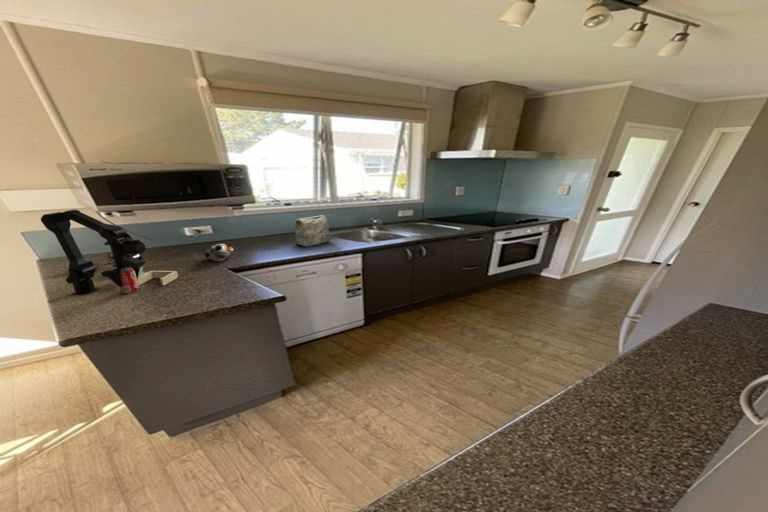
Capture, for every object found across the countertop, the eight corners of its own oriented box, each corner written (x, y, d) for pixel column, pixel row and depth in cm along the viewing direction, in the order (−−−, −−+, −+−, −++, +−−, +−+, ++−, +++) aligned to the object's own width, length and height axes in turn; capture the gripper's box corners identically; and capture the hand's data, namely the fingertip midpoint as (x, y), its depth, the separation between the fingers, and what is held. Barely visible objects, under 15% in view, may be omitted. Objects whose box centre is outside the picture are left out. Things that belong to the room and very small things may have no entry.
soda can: (138, 286, 149) (131, 265, 145) (141, 290, 144) (135, 268, 140) (120, 291, 143) (113, 269, 139) (123, 295, 139) (116, 272, 135)
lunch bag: (321, 238, 248) (320, 213, 241) (332, 242, 236) (331, 216, 229) (293, 243, 231) (290, 216, 225) (304, 248, 219) (301, 220, 212)
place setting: (69, 269, 170) (66, 260, 168) (114, 261, 183) (111, 253, 182) (68, 277, 158) (64, 267, 156) (116, 269, 172) (113, 259, 170)
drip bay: (163, 285, 150) (162, 278, 149) (136, 285, 150) (134, 278, 149) (178, 277, 161) (176, 271, 160) (152, 277, 161) (150, 270, 160)
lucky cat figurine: (227, 254, 200) (232, 238, 195) (230, 265, 193) (236, 249, 188) (202, 252, 190) (207, 236, 184) (205, 264, 183) (211, 247, 177)
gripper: (120, 259, 129) (129, 291, 134) (152, 248, 146) (159, 276, 151) (95, 259, 129) (105, 290, 133) (130, 247, 146) (138, 275, 151)
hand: (129, 282), depth 142 cm, fingers open, 9 cm apart
